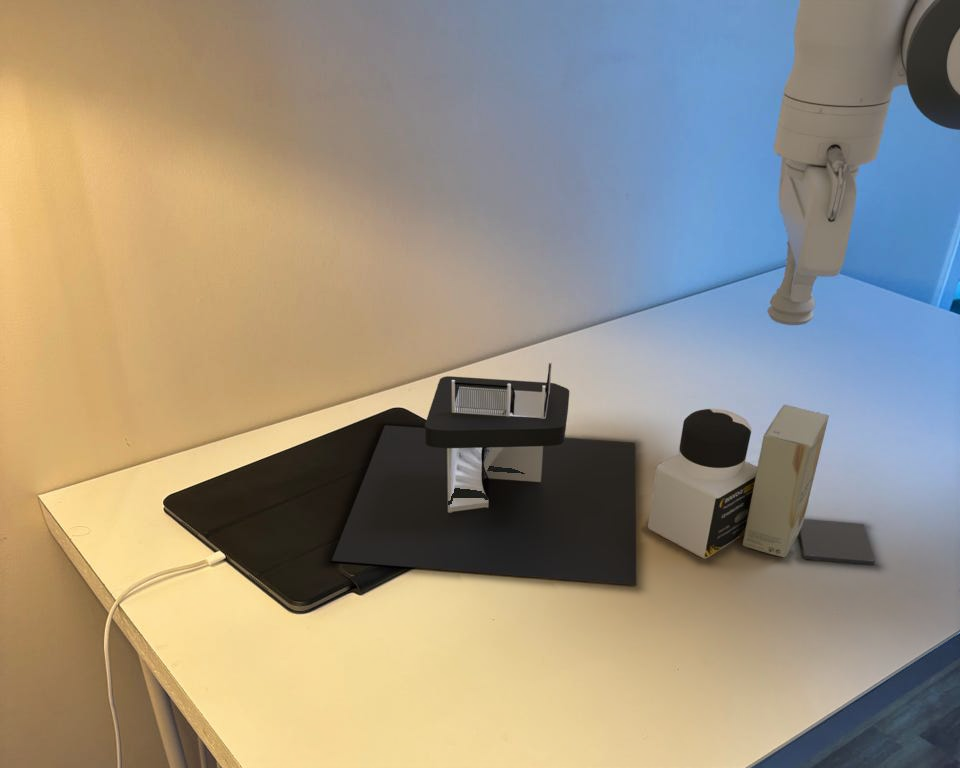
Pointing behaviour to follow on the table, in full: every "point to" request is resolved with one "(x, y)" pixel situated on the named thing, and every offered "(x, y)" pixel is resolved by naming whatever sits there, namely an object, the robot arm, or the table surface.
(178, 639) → the table surface
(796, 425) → the cosmetic box
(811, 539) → the slate coaster
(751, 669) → the table surface
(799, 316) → the rook chess piece
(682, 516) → the medicine bottle
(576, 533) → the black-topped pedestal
